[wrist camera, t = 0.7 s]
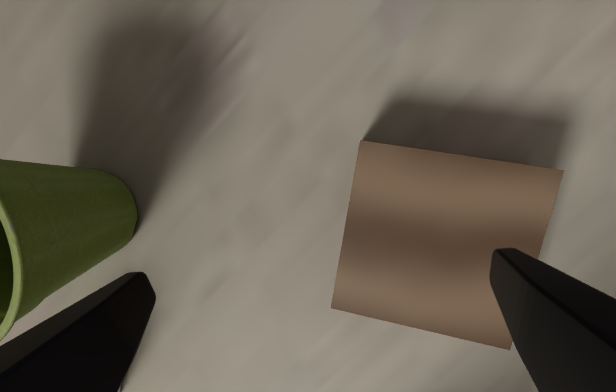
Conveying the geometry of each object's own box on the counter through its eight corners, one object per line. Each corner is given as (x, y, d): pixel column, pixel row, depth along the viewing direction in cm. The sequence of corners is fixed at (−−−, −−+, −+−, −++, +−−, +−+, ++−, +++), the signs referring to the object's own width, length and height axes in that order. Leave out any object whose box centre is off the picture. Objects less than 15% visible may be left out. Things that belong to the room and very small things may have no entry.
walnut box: (485, 315, 23) (510, 350, 19) (336, 282, 25) (330, 307, 21) (527, 165, 21) (564, 170, 17) (361, 140, 23) (360, 140, 19)
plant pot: (191, 206, 25) (58, 252, 15) (117, 300, 28) (-39, 399, 17) (85, 109, 26) (-122, 83, 15) (23, 212, 29) (-189, 254, 18)
